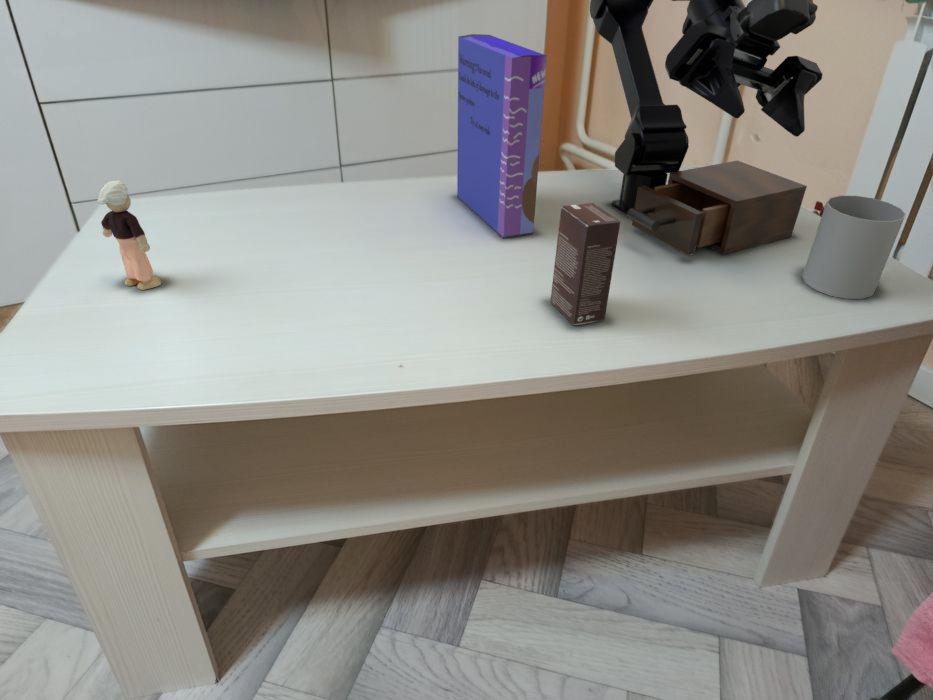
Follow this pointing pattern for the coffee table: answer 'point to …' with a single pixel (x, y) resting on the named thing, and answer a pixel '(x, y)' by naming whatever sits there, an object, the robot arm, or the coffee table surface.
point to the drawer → (680, 216)
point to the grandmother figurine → (127, 235)
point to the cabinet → (747, 202)
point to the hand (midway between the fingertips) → (771, 124)
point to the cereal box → (499, 131)
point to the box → (584, 262)
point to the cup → (852, 246)
